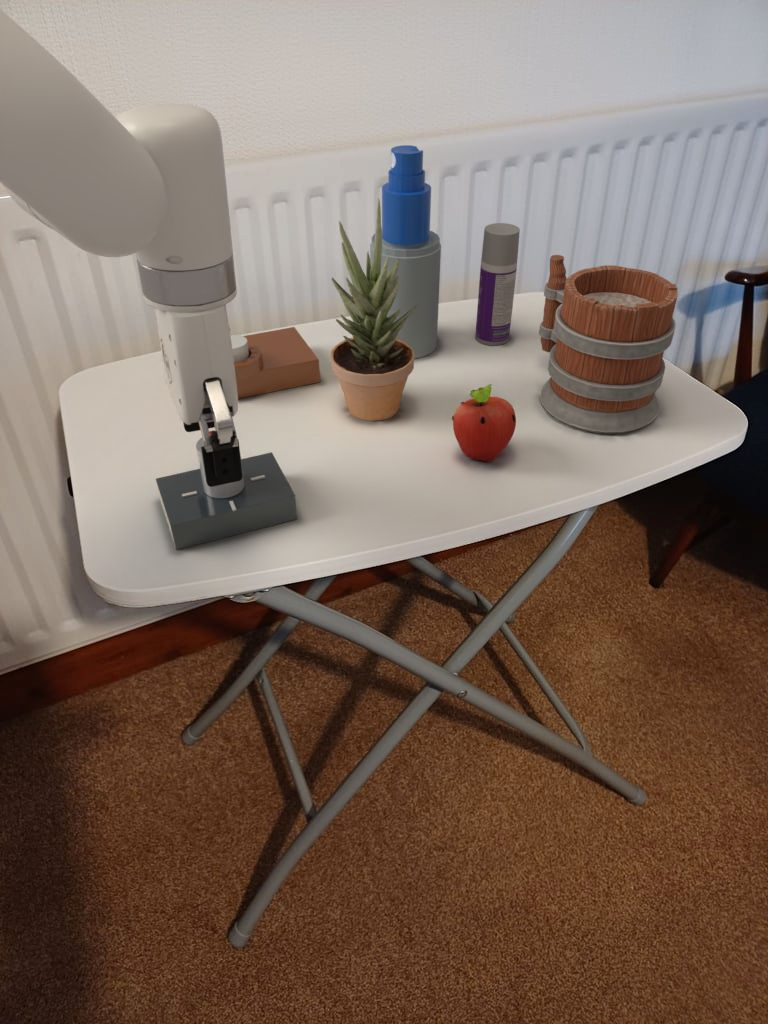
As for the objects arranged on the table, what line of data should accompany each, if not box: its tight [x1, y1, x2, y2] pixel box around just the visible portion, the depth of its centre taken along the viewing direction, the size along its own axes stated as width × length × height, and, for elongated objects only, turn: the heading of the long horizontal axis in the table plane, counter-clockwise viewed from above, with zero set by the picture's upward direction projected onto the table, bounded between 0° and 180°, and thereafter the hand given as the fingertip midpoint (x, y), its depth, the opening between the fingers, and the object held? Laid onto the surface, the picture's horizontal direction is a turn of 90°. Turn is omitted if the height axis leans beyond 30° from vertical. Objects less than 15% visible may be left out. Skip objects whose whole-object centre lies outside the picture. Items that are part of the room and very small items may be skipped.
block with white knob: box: [234, 326, 321, 400], centre depth 98 cm, size 13×11×5 cm
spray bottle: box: [369, 144, 442, 360], centre depth 99 cm, size 9×9×25 cm
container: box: [474, 222, 521, 346], centre depth 104 cm, size 5×5×15 cm
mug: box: [538, 254, 679, 435], centre depth 92 cm, size 14×19×15 cm
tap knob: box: [195, 429, 245, 498], centre depth 75 cm, size 4×4×5 cm
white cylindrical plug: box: [230, 334, 249, 362], centre depth 94 cm, size 4×4×2 cm
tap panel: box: [155, 452, 298, 551], centre depth 78 cm, size 12×8×3 cm
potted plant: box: [330, 197, 419, 422], centre depth 86 cm, size 10×10×25 cm
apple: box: [451, 384, 517, 463], centre depth 83 cm, size 8×7×10 cm
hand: (212, 454), depth 74 cm, fingers open, 9 cm apart
